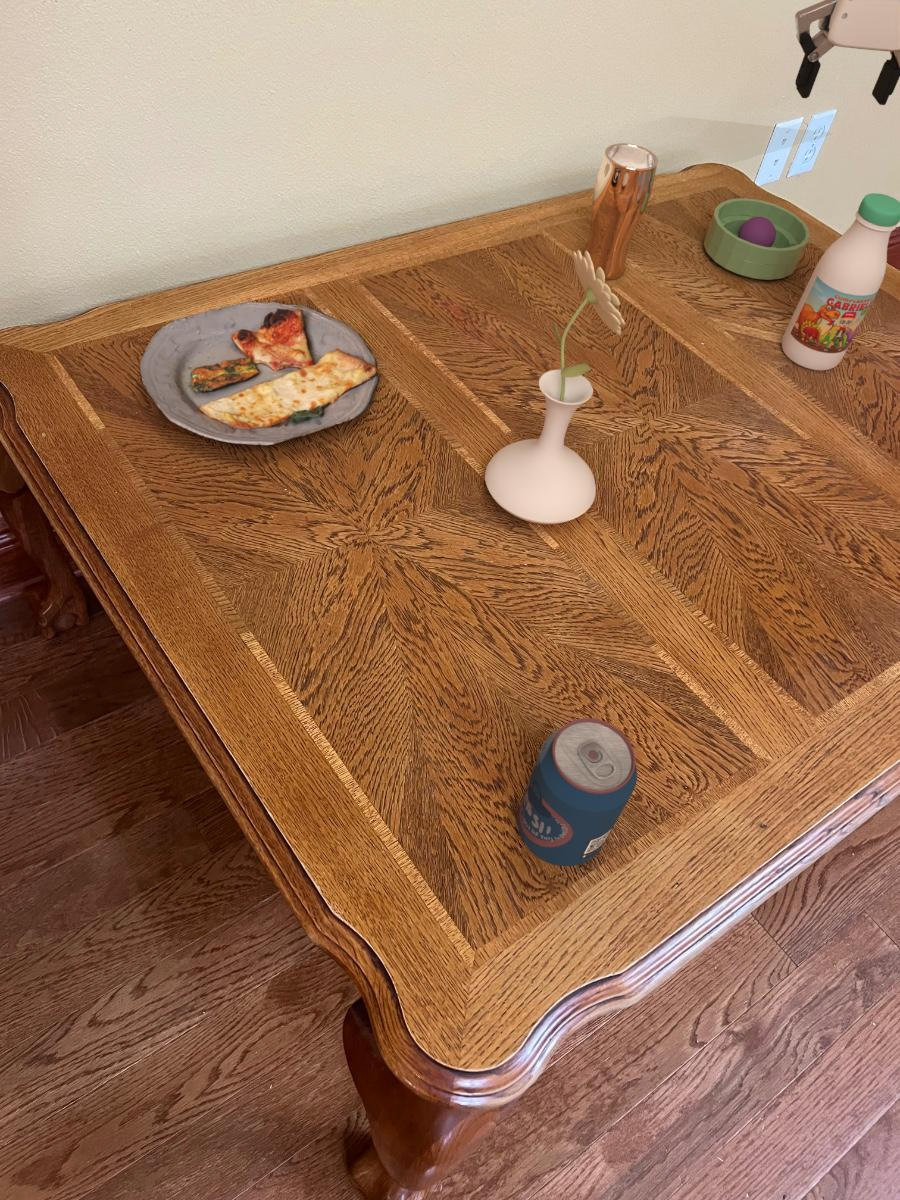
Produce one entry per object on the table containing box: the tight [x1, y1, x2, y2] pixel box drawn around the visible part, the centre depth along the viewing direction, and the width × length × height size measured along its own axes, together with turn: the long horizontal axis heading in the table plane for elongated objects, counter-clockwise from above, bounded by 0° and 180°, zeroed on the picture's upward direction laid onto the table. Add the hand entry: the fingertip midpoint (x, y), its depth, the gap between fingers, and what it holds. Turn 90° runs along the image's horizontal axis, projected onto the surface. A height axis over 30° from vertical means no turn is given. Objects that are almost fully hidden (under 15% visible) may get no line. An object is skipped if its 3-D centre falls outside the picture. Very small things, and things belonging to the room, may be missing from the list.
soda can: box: [516, 717, 638, 867], centre depth 68 cm, size 7×7×12 cm
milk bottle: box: [781, 192, 900, 371], centre depth 111 cm, size 8×8×20 cm
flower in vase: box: [484, 249, 626, 525], centre depth 87 cm, size 13×11×25 cm
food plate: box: [139, 301, 381, 446], centre depth 101 cm, size 25×23×4 cm
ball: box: [738, 217, 776, 247], centre depth 129 cm, size 5×5×5 cm
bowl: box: [703, 197, 811, 281], centre depth 130 cm, size 13×13×5 cm
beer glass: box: [582, 142, 659, 281], centre depth 120 cm, size 7×7×15 cm
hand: (840, 96), depth 114 cm, fingers open, 9 cm apart
